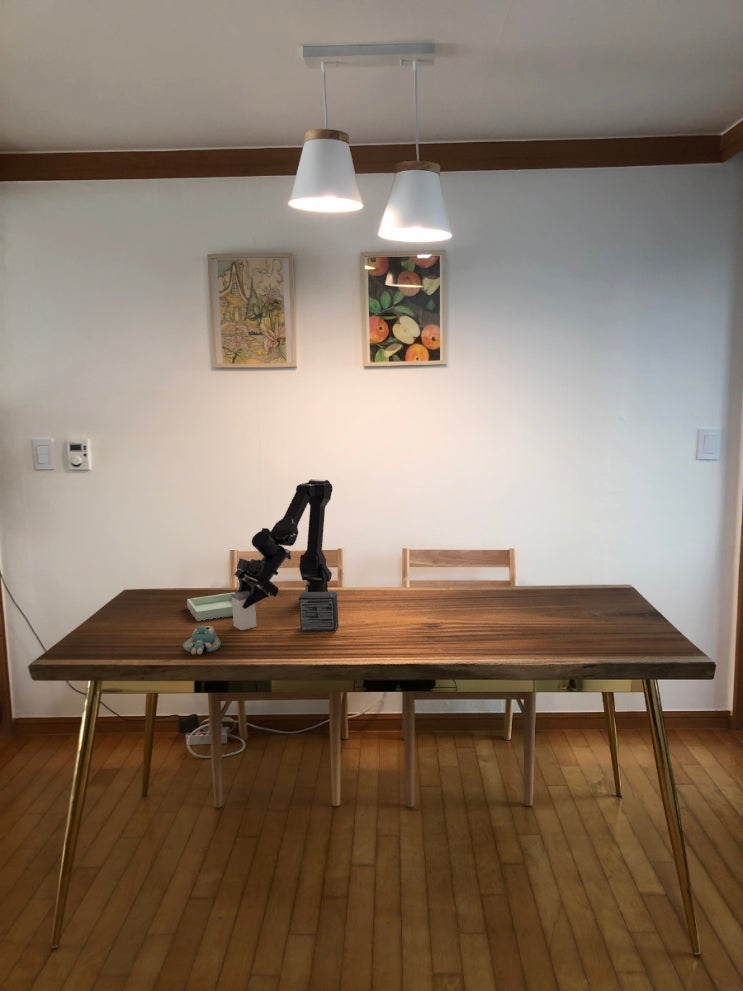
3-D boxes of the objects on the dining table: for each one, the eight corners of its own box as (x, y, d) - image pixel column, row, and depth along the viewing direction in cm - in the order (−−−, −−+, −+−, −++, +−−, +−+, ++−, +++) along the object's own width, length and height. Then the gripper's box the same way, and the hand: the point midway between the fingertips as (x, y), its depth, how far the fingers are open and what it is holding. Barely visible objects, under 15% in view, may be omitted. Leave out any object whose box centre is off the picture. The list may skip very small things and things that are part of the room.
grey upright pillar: (248, 622, 242) (246, 590, 240) (256, 626, 238) (254, 594, 236) (233, 626, 239) (231, 593, 238) (241, 630, 235) (239, 597, 234)
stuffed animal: (174, 639, 213) (186, 617, 224) (177, 662, 215) (189, 639, 227) (213, 638, 212) (224, 616, 223) (216, 662, 215) (227, 639, 226)
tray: (235, 601, 265) (234, 592, 265) (247, 613, 251) (246, 604, 251) (187, 608, 259) (187, 599, 259) (197, 621, 245) (196, 611, 245)
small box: (339, 625, 237) (337, 590, 235) (336, 632, 230) (334, 597, 229) (304, 625, 238) (302, 591, 236) (300, 632, 231) (298, 597, 230)
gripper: (238, 542, 245) (207, 584, 240) (267, 553, 230) (234, 597, 225) (262, 563, 250) (232, 604, 246) (292, 574, 235) (261, 618, 231)
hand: (239, 605), depth 237 cm, fingers open, 5 cm apart
